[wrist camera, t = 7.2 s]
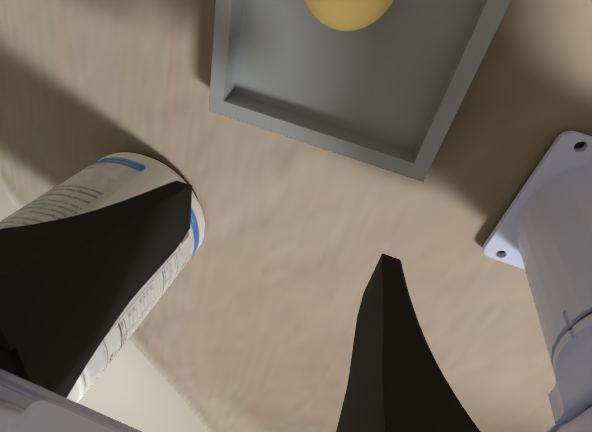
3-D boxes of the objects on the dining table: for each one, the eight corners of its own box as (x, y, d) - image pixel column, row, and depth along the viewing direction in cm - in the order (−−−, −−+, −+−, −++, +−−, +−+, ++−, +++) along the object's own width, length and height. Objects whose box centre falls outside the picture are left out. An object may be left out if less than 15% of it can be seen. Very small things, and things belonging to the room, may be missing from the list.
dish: (559, -122, 14) (575, -132, 12) (424, 164, 21) (423, 181, 19) (250, -191, 15) (228, -208, 13) (224, 99, 22) (208, 110, 21)
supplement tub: (90, 211, 32) (-110, 360, 20) (108, 120, 26) (-161, 256, 14) (190, 273, 32) (51, 453, 21) (229, 197, 26) (66, 389, 15)
